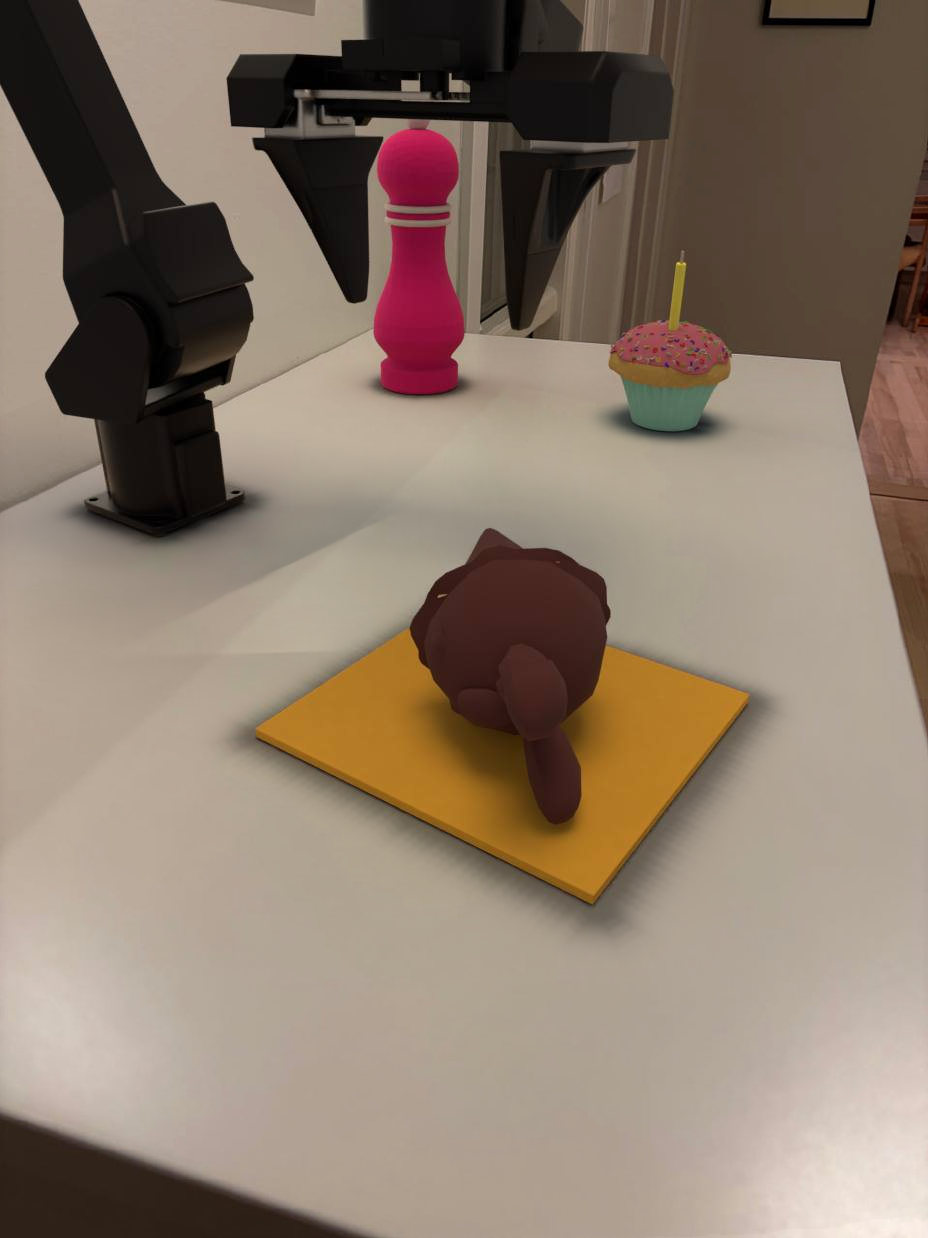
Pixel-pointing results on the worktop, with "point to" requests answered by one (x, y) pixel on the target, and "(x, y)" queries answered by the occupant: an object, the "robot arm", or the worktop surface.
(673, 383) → the cupcake
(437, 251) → the pepper mill
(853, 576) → the worktop surface
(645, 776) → the flat square board
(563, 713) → the brown lumpy figure
